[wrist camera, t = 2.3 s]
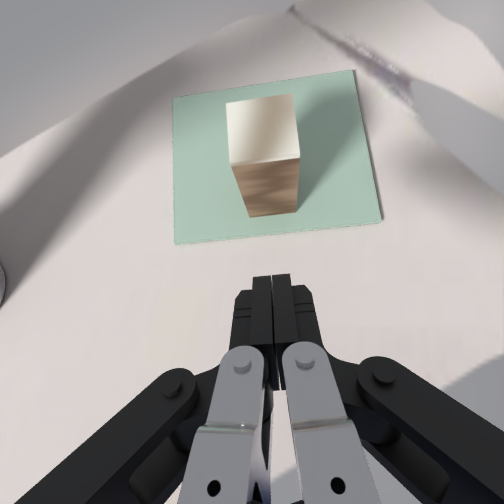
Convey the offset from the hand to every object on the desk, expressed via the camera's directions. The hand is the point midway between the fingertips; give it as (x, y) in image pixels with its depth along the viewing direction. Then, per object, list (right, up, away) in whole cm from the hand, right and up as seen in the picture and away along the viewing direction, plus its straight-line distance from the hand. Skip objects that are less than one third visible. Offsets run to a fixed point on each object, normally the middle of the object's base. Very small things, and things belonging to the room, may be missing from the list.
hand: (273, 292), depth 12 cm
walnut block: (+1, +8, +20) cm, 22 cm away
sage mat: (+1, +13, +22) cm, 25 cm away
